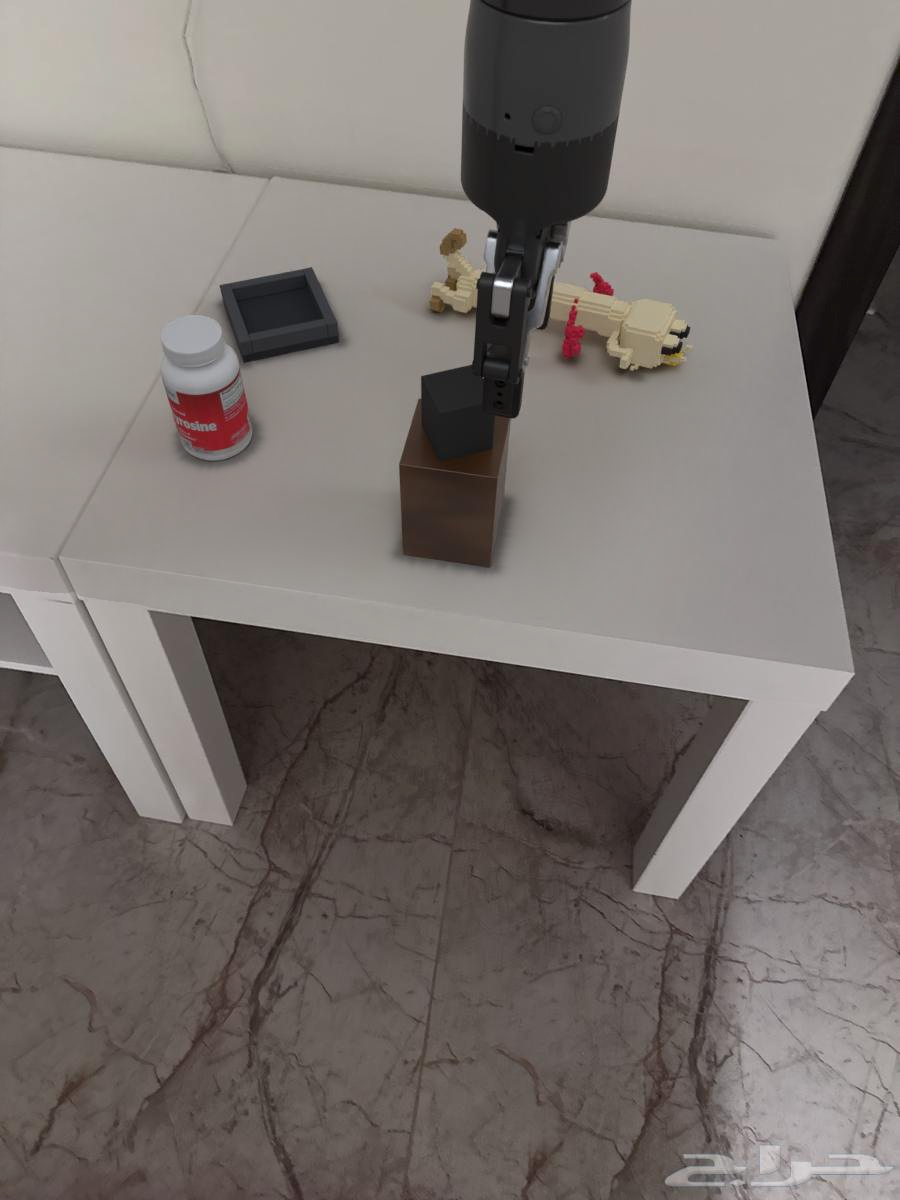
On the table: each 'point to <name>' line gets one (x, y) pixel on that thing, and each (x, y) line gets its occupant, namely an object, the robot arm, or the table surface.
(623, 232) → the table surface
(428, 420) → the black block
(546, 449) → the table surface
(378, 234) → the table surface
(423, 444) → the riser
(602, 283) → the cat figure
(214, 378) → the pill bottle
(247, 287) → the dark open tray
